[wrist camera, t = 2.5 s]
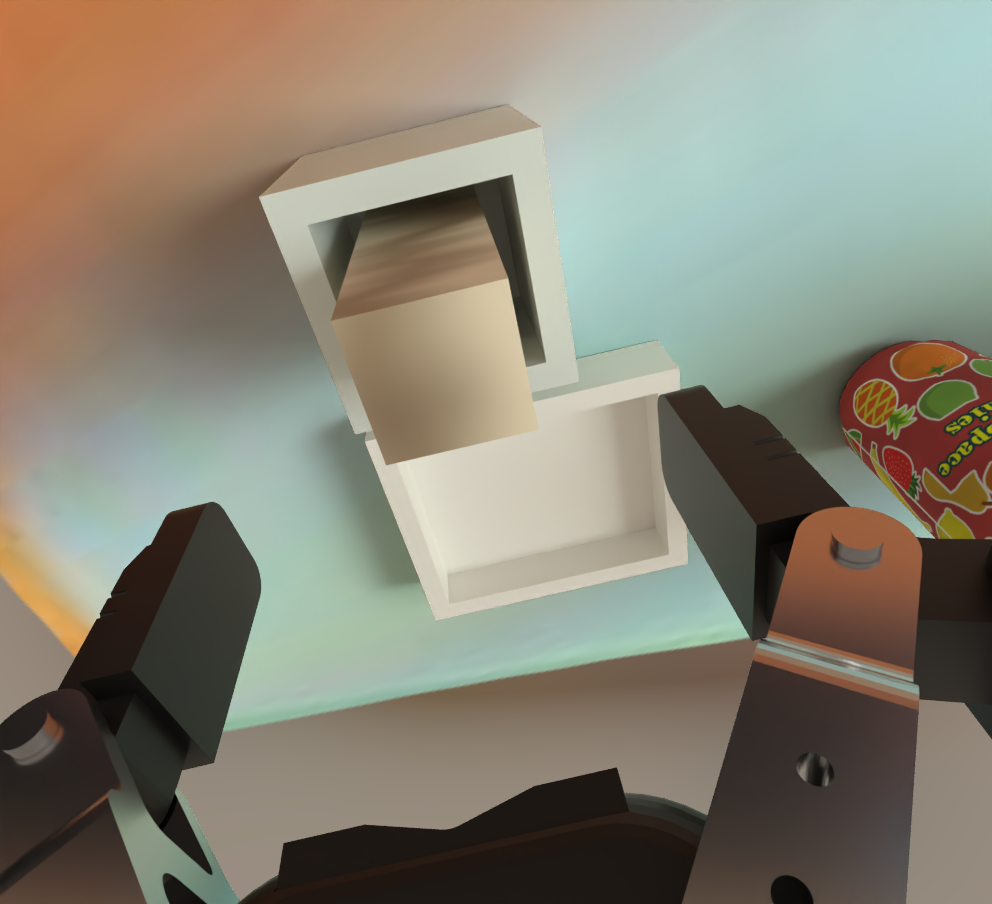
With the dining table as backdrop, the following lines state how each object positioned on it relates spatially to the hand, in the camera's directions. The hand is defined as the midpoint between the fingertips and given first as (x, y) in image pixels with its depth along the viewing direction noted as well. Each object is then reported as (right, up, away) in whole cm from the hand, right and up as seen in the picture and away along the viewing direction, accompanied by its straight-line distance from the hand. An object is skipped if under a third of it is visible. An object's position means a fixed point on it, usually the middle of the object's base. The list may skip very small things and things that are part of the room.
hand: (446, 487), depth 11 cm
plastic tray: (+3, -1, +21) cm, 22 cm away
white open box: (-2, +9, +14) cm, 17 cm away
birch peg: (-2, +9, +13) cm, 16 cm away
